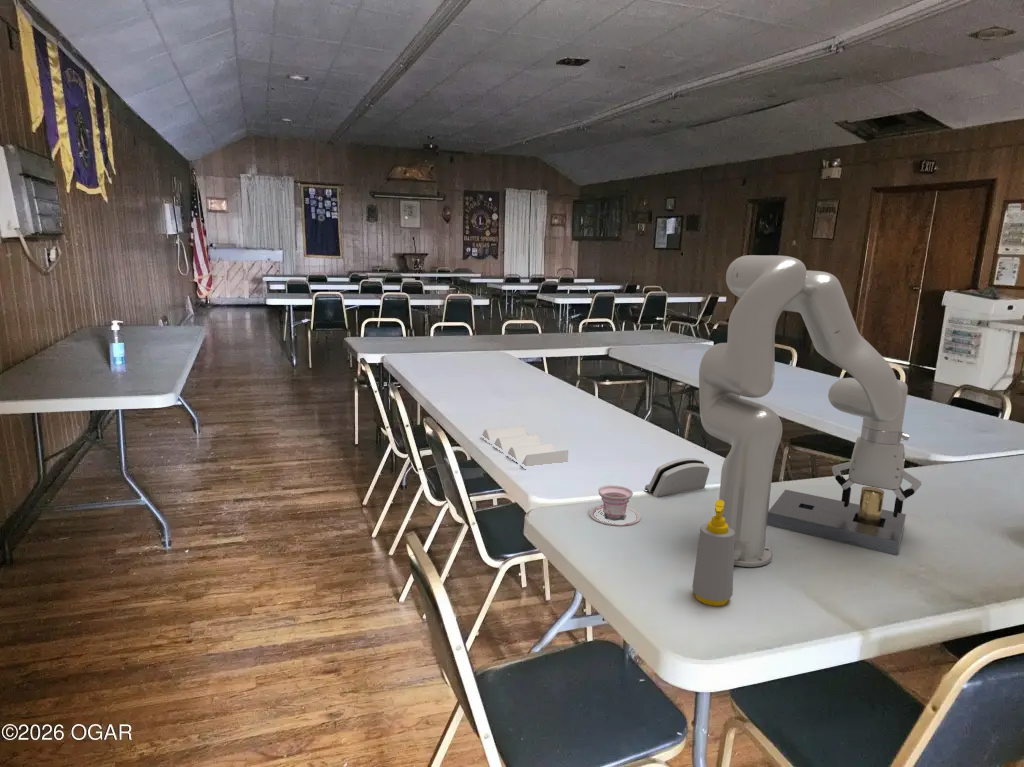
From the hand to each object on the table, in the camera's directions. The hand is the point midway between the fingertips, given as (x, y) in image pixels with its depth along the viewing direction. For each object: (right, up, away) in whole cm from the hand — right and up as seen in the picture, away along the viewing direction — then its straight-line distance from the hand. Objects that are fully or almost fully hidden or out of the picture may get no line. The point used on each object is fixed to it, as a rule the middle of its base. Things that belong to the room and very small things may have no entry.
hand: (870, 510), depth 146 cm
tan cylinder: (0, -5, +1) cm, 5 cm away
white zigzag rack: (-76, +7, +56) cm, 95 cm away
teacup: (-55, -3, +8) cm, 56 cm away
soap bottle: (-44, -10, -28) cm, 53 cm away
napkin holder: (-36, 0, +25) cm, 44 cm away
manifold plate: (-5, -4, +5) cm, 8 cm away
